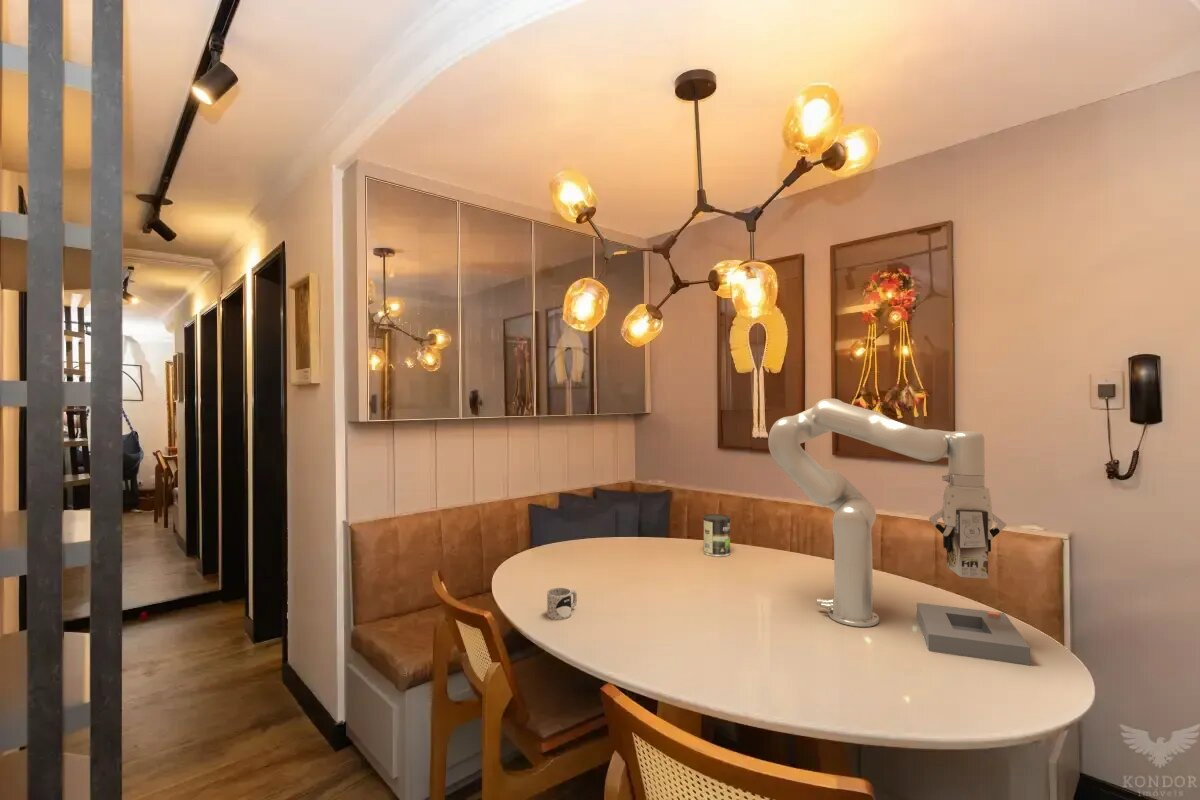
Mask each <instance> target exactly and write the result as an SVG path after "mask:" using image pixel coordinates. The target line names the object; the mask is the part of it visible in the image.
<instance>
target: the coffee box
mask: <svg viewBox="0 0 1200 800" xmlns="http://www.w3.org/2000/svg"><path fill="white" fill-rule="evenodd" d="M988 530H989V529H988V512H987V511H980V510H956V527H953V529H952V530H951V532H950V536H951V552H950V553H949V552H947V551H946V567H947V568H948V569H949V570H951V572H953V573H954V574H956V575H957V576H959V577H960V578H968V579H969V578H973V579H975V578H976V579H989V552H988Z"/></svg>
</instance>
